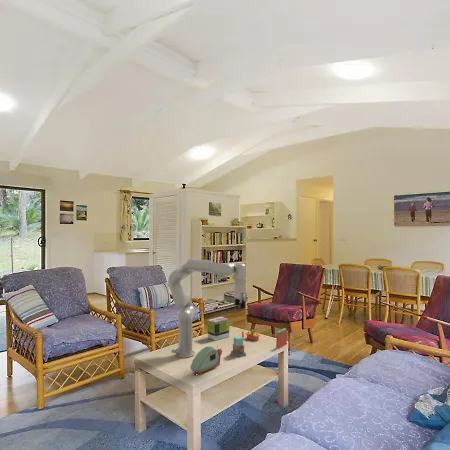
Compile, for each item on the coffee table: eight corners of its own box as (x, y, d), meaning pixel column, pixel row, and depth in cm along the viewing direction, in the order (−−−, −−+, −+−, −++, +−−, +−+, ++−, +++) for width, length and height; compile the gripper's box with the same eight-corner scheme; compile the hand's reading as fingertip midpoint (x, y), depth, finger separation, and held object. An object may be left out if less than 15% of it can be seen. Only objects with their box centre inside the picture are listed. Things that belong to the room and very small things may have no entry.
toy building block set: (278, 350, 243) (278, 330, 243) (239, 340, 266) (239, 322, 266) (287, 345, 253) (287, 326, 253) (249, 336, 275) (249, 318, 275)
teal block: (236, 346, 230) (236, 339, 230) (233, 343, 235) (233, 336, 235) (243, 345, 232) (243, 338, 232) (240, 343, 237) (240, 336, 237)
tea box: (221, 333, 281) (221, 316, 281) (229, 337, 273) (229, 318, 273) (207, 337, 271) (207, 319, 271) (214, 341, 263) (214, 322, 263)
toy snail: (197, 378, 199) (197, 354, 199) (188, 374, 204) (188, 351, 204) (225, 365, 217) (225, 344, 217) (217, 362, 222) (217, 341, 222)
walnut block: (236, 354, 230) (236, 346, 230) (232, 351, 235) (232, 343, 235) (244, 352, 232) (244, 345, 232) (240, 349, 238) (240, 342, 238)
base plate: (235, 358, 229) (235, 354, 229) (230, 354, 236) (230, 350, 236) (246, 357, 231) (246, 353, 231) (241, 352, 239) (241, 349, 239)
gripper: (230, 280, 238) (230, 304, 238) (239, 284, 222) (239, 310, 221) (240, 279, 240) (240, 303, 240) (250, 283, 224) (250, 309, 224)
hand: (240, 306), depth 231 cm, fingers open, 9 cm apart
